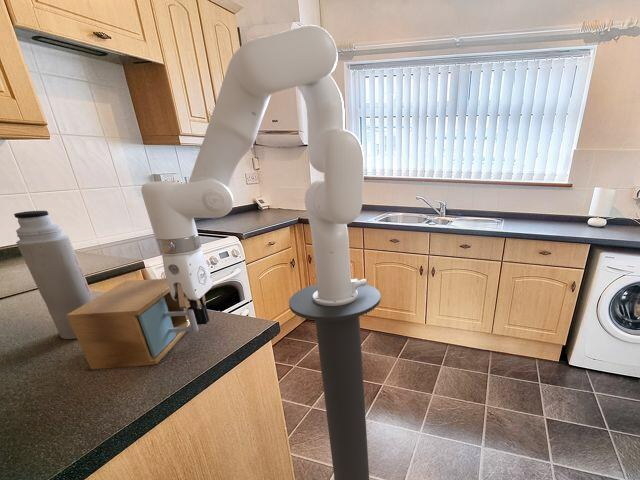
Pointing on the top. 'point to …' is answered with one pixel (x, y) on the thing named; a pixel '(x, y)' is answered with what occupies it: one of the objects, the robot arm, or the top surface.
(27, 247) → the thermos bottle
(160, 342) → the blue door
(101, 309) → the cabinet
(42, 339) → the top surface
